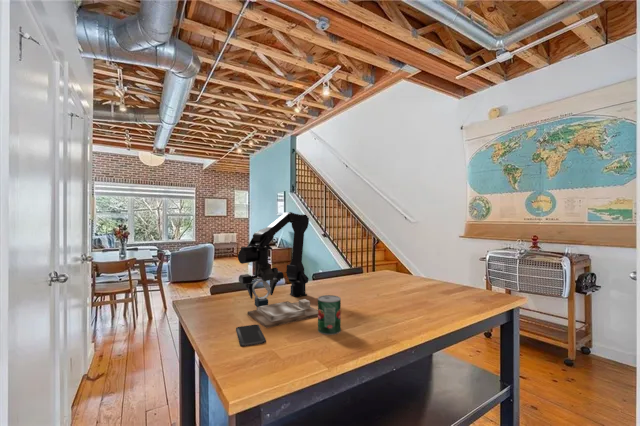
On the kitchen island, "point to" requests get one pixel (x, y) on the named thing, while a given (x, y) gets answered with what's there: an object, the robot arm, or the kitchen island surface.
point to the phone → (250, 335)
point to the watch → (261, 300)
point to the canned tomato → (329, 314)
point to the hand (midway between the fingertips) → (261, 296)
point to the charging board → (283, 313)
